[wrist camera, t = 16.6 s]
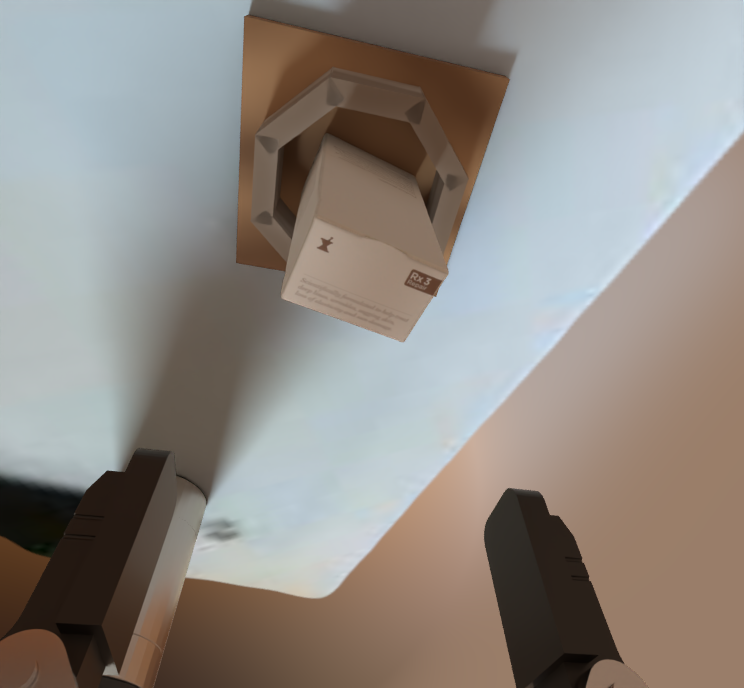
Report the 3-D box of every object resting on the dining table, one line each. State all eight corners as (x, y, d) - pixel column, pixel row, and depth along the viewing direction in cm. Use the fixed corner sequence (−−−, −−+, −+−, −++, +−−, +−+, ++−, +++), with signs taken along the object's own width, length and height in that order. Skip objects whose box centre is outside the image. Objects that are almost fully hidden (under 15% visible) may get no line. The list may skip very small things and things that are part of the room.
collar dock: (434, 289, 35) (441, 321, 32) (239, 255, 33) (226, 286, 30) (505, 76, 26) (524, 90, 23) (248, 14, 24) (231, 21, 21)
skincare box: (299, 195, 29) (269, 304, 20) (327, 125, 27) (307, 211, 17) (389, 235, 31) (400, 353, 22) (422, 172, 29) (452, 273, 19)
